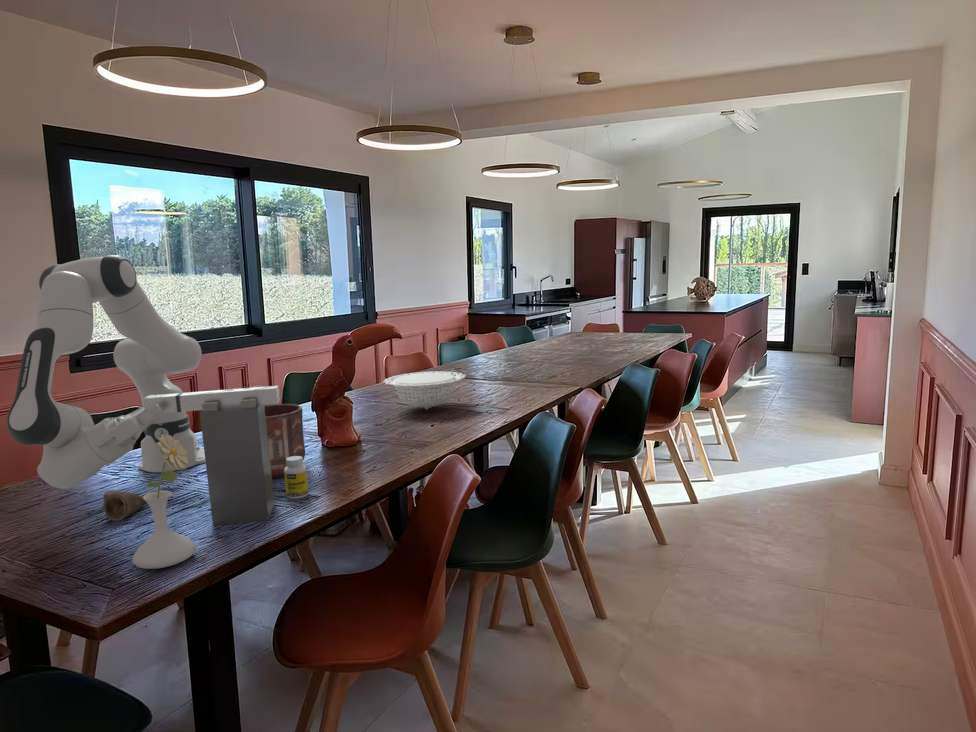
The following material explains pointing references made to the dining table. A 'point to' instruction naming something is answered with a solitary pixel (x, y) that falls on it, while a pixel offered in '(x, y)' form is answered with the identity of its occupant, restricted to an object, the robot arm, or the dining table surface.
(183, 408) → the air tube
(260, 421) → the block
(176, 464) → the flower in vase
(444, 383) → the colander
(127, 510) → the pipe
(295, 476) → the supplement bottle
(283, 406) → the pottery
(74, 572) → the dining table surface
